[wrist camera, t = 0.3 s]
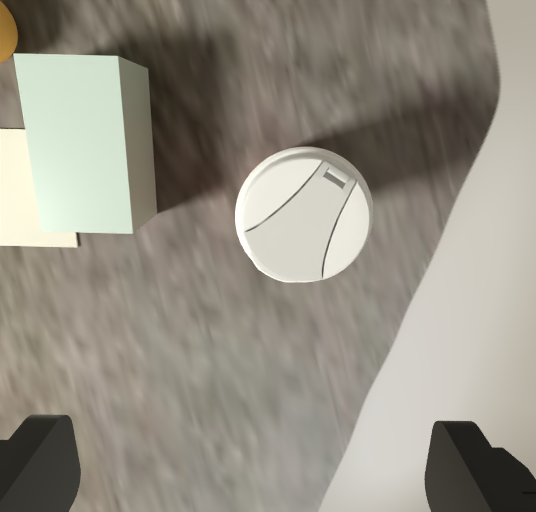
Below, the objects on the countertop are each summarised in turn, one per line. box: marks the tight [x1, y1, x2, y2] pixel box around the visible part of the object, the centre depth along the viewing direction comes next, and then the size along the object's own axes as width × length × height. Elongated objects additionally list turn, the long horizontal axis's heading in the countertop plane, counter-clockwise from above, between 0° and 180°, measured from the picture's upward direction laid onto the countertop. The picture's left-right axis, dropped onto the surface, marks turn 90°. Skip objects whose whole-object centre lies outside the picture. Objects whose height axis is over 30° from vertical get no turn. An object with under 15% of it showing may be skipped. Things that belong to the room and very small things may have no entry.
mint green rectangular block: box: [13, 53, 157, 234], centre depth 31 cm, size 12×7×7 cm, turn 179°
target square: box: [0, 129, 78, 247], centre depth 35 cm, size 10×8×1 cm
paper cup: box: [235, 147, 374, 282], centre depth 28 cm, size 8×8×14 cm
